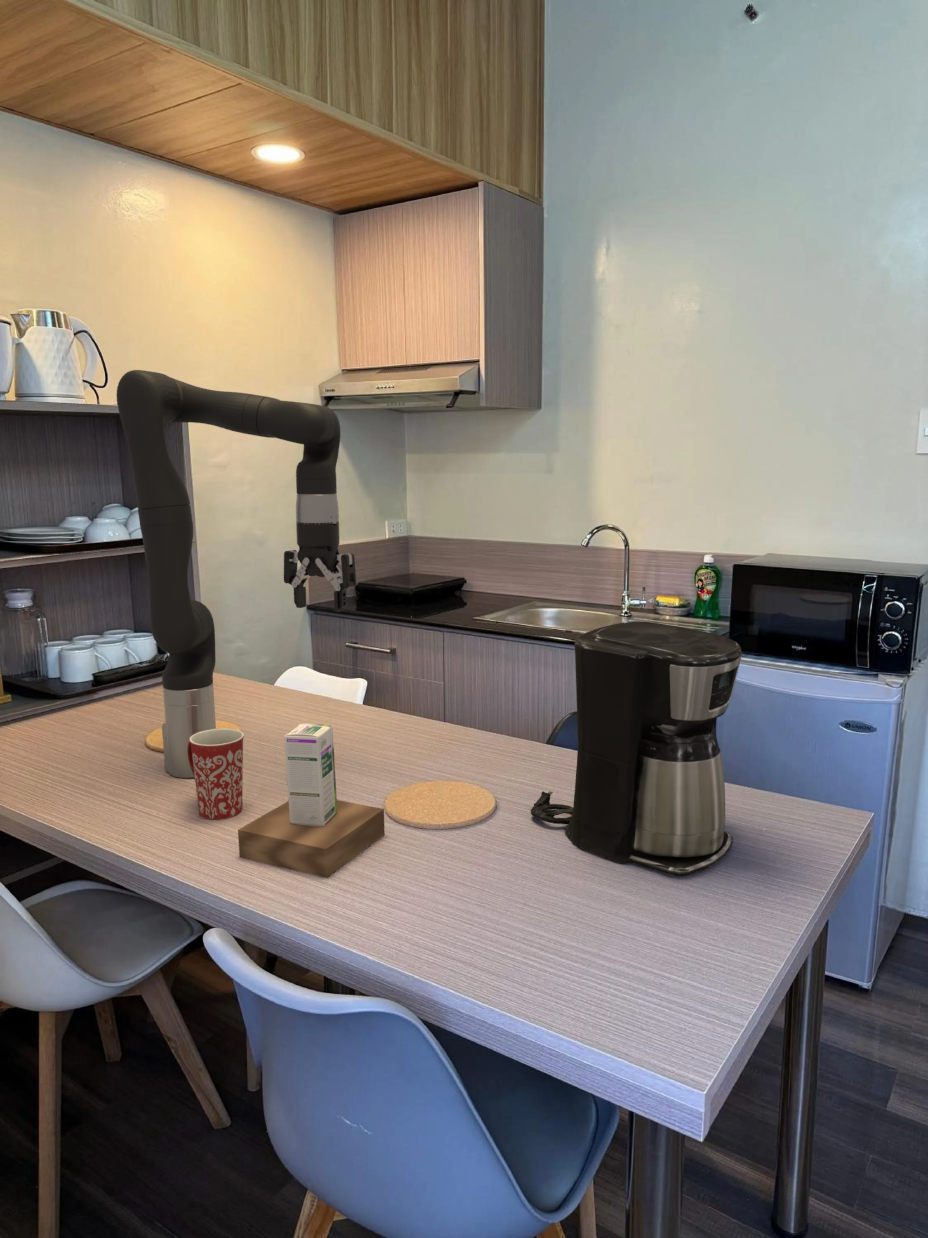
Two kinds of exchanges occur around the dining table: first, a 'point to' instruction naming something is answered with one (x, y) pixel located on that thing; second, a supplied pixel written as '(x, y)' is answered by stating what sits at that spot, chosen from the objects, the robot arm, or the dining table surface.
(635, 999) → the dining table surface
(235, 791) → the mug
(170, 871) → the dining table surface
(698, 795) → the coffee maker
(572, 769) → the dining table surface
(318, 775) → the syrup box
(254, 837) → the walnut riser
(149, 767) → the dining table surface
